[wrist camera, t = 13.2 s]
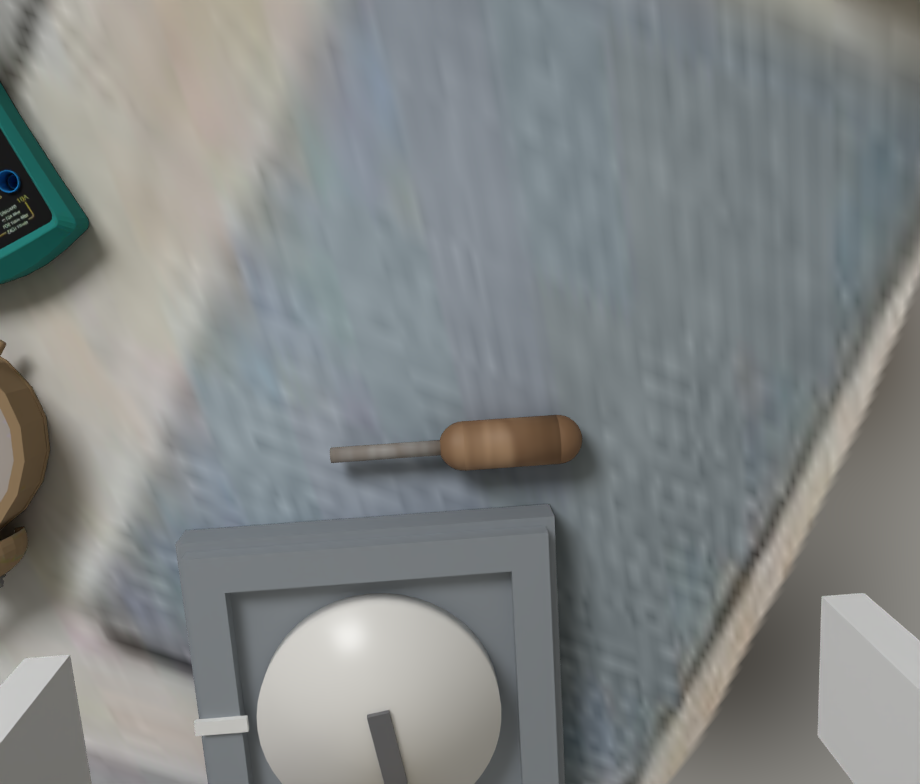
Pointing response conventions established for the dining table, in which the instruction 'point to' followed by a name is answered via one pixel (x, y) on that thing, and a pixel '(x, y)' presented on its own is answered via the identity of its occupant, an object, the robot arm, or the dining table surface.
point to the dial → (379, 697)
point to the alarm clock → (18, 457)
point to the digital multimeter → (31, 201)
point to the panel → (364, 572)
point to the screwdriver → (484, 444)
